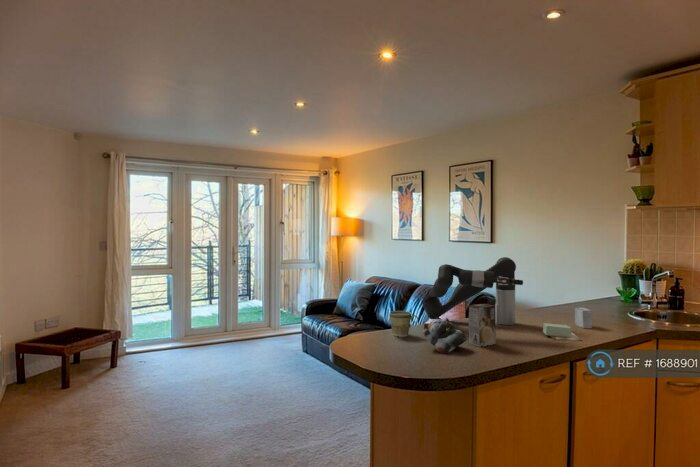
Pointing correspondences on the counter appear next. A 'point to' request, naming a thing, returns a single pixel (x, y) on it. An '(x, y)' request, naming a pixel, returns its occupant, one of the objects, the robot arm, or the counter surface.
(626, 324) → the counter surface
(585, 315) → the medicine box
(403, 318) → the ceramic cup
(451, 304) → the robot arm
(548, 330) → the sage block
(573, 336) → the beech board
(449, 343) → the grey stuffed animal
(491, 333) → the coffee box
